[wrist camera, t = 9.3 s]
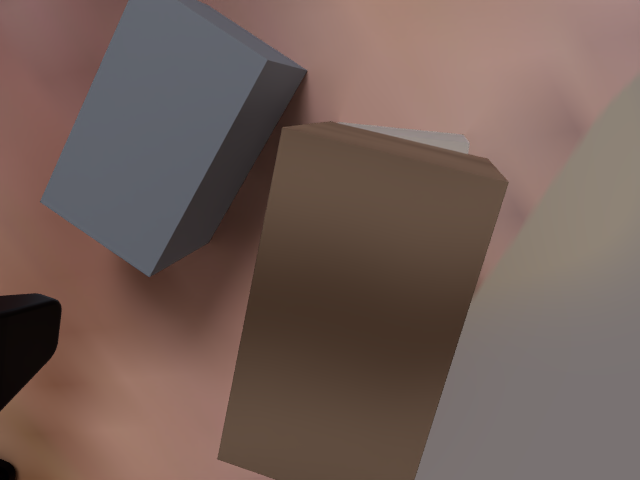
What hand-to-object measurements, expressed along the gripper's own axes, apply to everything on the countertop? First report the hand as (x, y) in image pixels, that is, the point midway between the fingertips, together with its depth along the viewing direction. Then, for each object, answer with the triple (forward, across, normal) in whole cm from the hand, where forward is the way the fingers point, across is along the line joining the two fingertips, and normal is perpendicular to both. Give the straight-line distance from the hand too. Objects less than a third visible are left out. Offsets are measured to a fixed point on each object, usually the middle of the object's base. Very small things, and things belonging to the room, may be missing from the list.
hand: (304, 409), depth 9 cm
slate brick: (+13, +8, -2) cm, 15 cm away
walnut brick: (+8, 0, 0) cm, 8 cm away
